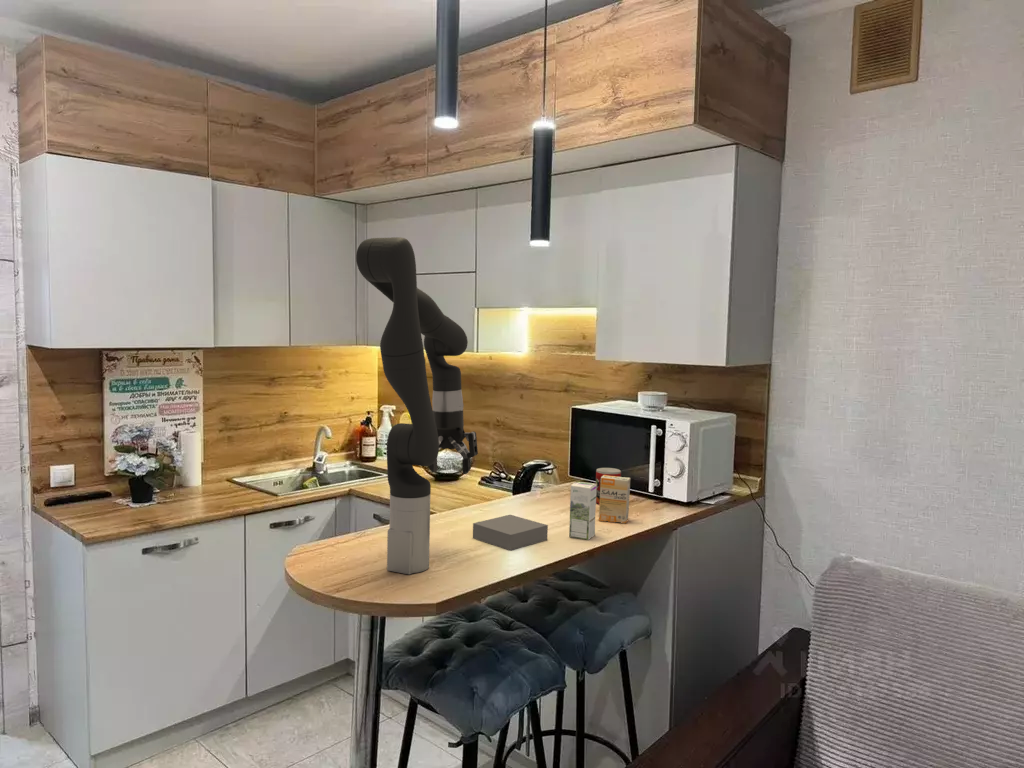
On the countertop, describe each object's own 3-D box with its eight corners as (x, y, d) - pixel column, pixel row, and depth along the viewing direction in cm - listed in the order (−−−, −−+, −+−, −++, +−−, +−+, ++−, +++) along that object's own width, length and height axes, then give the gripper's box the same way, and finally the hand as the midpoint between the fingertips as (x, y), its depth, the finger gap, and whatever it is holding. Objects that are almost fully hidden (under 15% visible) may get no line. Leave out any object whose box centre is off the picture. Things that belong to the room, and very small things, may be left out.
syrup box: (595, 535, 195) (597, 482, 194) (588, 540, 190) (590, 487, 189) (575, 532, 198) (577, 480, 197) (568, 537, 192) (570, 484, 191)
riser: (510, 550, 180) (510, 534, 179) (472, 538, 189) (473, 523, 189) (547, 539, 190) (547, 525, 189) (509, 528, 199) (510, 514, 199)
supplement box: (598, 521, 210) (599, 477, 209) (601, 517, 214) (603, 474, 213) (626, 524, 207) (628, 480, 206) (628, 520, 212) (630, 476, 211)
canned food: (591, 500, 235) (592, 467, 234) (614, 500, 237) (615, 467, 236) (599, 506, 227) (601, 472, 227) (623, 505, 229) (624, 472, 229)
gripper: (415, 409, 175) (417, 474, 177) (468, 411, 170) (470, 477, 172) (428, 405, 182) (430, 467, 184) (480, 406, 177) (482, 470, 179)
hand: (450, 472), depth 178 cm, fingers open, 8 cm apart
